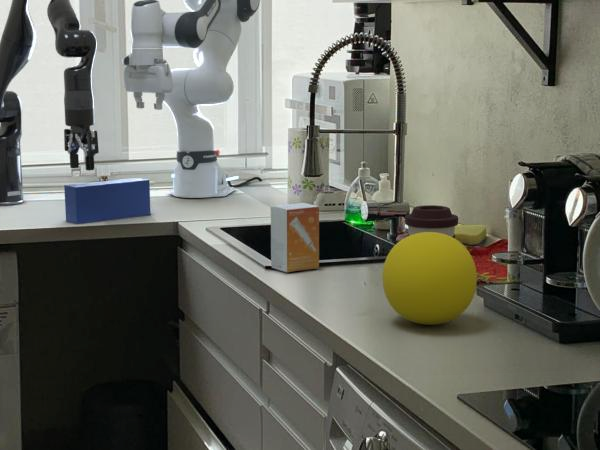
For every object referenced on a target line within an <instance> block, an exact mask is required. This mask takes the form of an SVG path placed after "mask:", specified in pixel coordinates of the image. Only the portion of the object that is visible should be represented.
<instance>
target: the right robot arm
mask: <svg viewBox="0 0 600 450" xmlns="http://www.w3.org/2000/svg"><path fill="white" fill-rule="evenodd" d="M260 2H261V0H182V3H183V5H184V6H185V8H186V9H187V10H188V11H185V12H184V11H183V12H166V11H164V10H163V9H162V8H161V4H160V1H159V0H138V1H135V2H134V3H133V4H132V5H131V9H130V10H131V11H130V24H129V25H130V36H131V40H132V42H131V47H130V49H131V50H130V51H131V52H129V54H127V55H126V56H125V57H123V58H122V66H124V68H123V81H124V82H123V83H124V88H125V91H126V92H127V93H132V94H133V98H134V101H135V104H136V105H135V107H136V109H144V108H145V101H144V100H143V97H142V96H143V93H147V94H155V95H154V96H155V98H156V99H155V102H154V103H153V109H154V110H155V111H161V110H163V103H164V104H165V105H166V106H167V107H168V109H169V110H170V112H171V114H172V116H173V119H174V123H175V126H176V133H177V134H176V135H177V150H176V155H175V156H176V162H177V164H176V166H175V167H174V168H173V173H172V174H171V178H173V180H172V189H171V190H169V195H171V196H174V197H177V198H185V199H186V198H189V199H197V198H198V199H201V198H202V199H203V198H215V197H216V198H217V197H218V198H219V197H220V198H221V197H226V196H228V195H229V194H231V193H233V192H234V191H236V189H235V188H240V187H242V186H245V185H248V184H249V183H251V182H254V181H255V180H258V182H263V179H262V178H261V177H260V176H254V177H251V178H249V179H246V180H245V181H243V182H239V183H238V184H232V183H231V181H234V180H238V179H239V176H238V175H236V176H232V177H228V173H227V172H226V171H225V170H224V169H223V167H222V166H221V165H220V164H219V163H218V157H220V153H221V151H220V149H215V140H214V139H215V138H214V137H215V135H214V125H213V124H212V122H211V120H210V119H208V118H206V117H205V116H204V115H203V114H202V113H201V110H200V109H199V106H216V105H220V104H225V103H228V102H229V100H230V99H231V98H232V96H233V93H234V88H235V86H234V81H233V78H232V76H231V75H230V74H229V73H228V72H227V66H228V64H229V63H230V60H231V58H232V56H233V54H234V53H235V50H236V48H237V47H238V43H239V41H240V37H241V34H242V25H241V23H246V22H248V21H249V20H250V18H251V17H253V16H254V14H255V13H256V12H257V11H258V9H259V7H260ZM164 48H187V49H189V48H190V49H194V50H193V59H194V63H195V64H196V66H197V67H196V68H174V69H171V67H170V64H169V63H168V62H167V59H165V58H164Z"/></svg>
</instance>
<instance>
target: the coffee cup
mask: <svg viewBox="0 0 600 450" xmlns="http://www.w3.org/2000/svg"><path fill="white" fill-rule="evenodd" d="M404 225H406V226H407V227H408V228H407V230H408V233H407V236H406V237H408V236H410V235H413V234H417V233H422V232H437V233H442V234H445V235H448V236H451V237H453V238H455V239H456V235H455V229H456V228H455V227H456V226H458V225H459V216H458V215H456V214H453V213H452V211H451V208H450V207H448V206H444V205H437V204H436V205H434V204H433V205H431V204H429V205H426V204H425V205H418V206H414V207H413V208H412V210H411V213H408V214H406V215H405V216H404Z"/></svg>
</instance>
